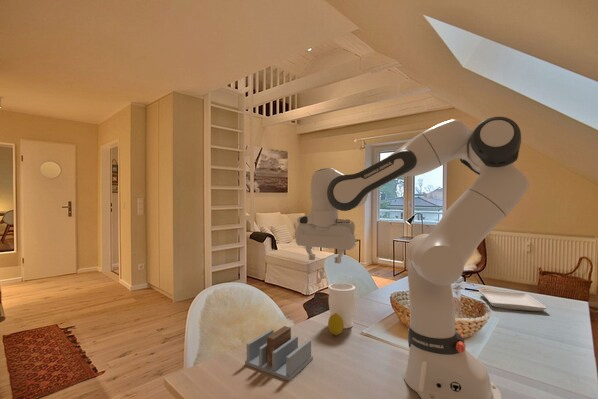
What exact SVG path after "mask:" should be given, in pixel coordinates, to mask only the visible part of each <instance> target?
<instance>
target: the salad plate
mask: <svg viewBox="0 0 598 399" xmlns="http://www.w3.org/2000/svg"><path fill="white" fill-rule="evenodd" d="M478 293H479V294H480V295H482V297H484V299H486V300H487V301H488V302H489V304H490V305H491V306H493V307H496V308H498V309H504V310H505V309H507V310H515V311H516V310H517V311H525V312H526V311H527V312H528V311H529V312H541V311H544V310H546V309H547V306H546V305H544V304H543V303H541V302H540V301H538V300H537V299H536V298H534V297H532V296H531V295H530V294H528V293H524V292H516V291H515V292H513V291H503V290H502V291H501V290H487V289H478Z"/></svg>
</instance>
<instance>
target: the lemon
mask: <svg viewBox="0 0 598 399" xmlns="http://www.w3.org/2000/svg"><path fill="white" fill-rule="evenodd" d="M327 326H328V330H329V332H330V333H331V334H332V335H334V336H338V335H340V334H341V333H342V331H343V330H344V329H343V326H344V324H343V320H342V317H341V316H340V315H338V314H337V313H335V314H333V315H330V316H329V318H328V321H327Z"/></svg>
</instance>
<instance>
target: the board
mask: <svg viewBox="0 0 598 399" xmlns="http://www.w3.org/2000/svg"><path fill="white" fill-rule="evenodd" d="M291 335H292V332H291V327H289V326H286V325H283V326H282V327H280V328H279V329H277V330H276V331H274V333H273V334H271V335H269V336H268V337H267V365H270V366H272V352H273V351H275V350H276V349H277V348H279V347H280V346H282V345H283V344H285V343H286V342H287V341H289V340H290V339H292V336H291Z"/></svg>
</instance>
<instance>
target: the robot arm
mask: <svg viewBox="0 0 598 399" xmlns="http://www.w3.org/2000/svg"><path fill="white" fill-rule="evenodd" d="M521 132H522V130H521V129H520V127H519V125H518V124H517V123H516V122H515V121H514V120H513V119H511V118H509V117H506V116H493V117H489V118H487V119H484V120H483V121H481V122H480V123H478V124H477V125H476V126H475V128H474V129H471V128H470V127H469V126H468V125H467V124H466V123H465V122H464V121H462V120H459V119H450V120H447V121H444V122H441V123H438V124H436V125H435V126H432V127H431V128H427V129H426V130H425V131H423V132H421V133H418V134H417V135H416V136H414V137H412V138H411V139H409V140H408V141H406V142H405V143H404V144H402V145H401V146H400V147H399V148H398V149H397V150H395V151H394V152H393V153H391V154H390V155H388V156H387V157H386V158H383V159H382V160H379V161H378V162H376V163H374V164H372V165H370V166H368V167H367V168H365V169H363V170H361V171H359V172H356V173H351V174H344V173H341V172H340V171H338V170H337V169H335V168H333V167H326V168H320V169H318V170H316V171H314V172H313V174H312V175H311V178H310V180H311V182H310V199H311V206H310V212H309V213H307V214H305V215H302V216H299V217H298V218H297V224H298V225H296V226H297V227H296V230H295V244H296V245H297V246H300V247H305V252H306V253H307V255H308V260H309V261H315V260H316V254H314V253H313V251H312V249H313V248H323V249H335V250H337V253H338V255H337V256H336V257H334V264H342V257H343V255H344V254H345V250H346V251H347V250H348V251H350V250H353V249H354V248H355V247H356V236H355V230H356V225H355V222H353V221H352V220H350V219H341V218H340V219H339V211H341V212H348V211H351V210H353V209H357V208H359V207H361V206H362V205H364V204H365V202H366V201H367V199H368V196H369V195H368V194H369V193H371V192H373V191H375V190H376V189H379V188H381V187H382V186H384V185H386V184H388V183H390V182H392V181H394V180H397V179H400V178H404V177H417V176H419V175H420V176H421V175H423V174H427V173H430V172H432V171H433V170H436V169H438V168H440V167H441V166H444V165H445V164H448V163H449V162H452V161H453V160H457V159H459V161H460V163H462V164H463V165H464V166H466V167H467V168H468V169H469V170H471V171H472V172H473V173H474V174H476V175H477V176H478V177H477V178H476V180H475V181H474V182H473V183H472V184H471V185H470V186H469V187H468V188H467V189H466V190H465V191H464V192H463V193H462V194H461V195H460V196H459V197H458V198H457V199H456V200H455V201H454V202H453V203H452V204H451V205H450V206H449V207H448V208H447V209H446V211H444V213H443V215H442V217H441V219H440V220H439V221H438V223H437V224H436V226H435V227H434V228H433V230H431V232H430V233H421V234H418V235H416V236H414V237H413V238H412V239H411V240H410V241H409V242H408V244H407V247H406V266H407V267H406V268H407V280H408V283H407V284H408V289H409V290H408V292H409V326H408V330H407V343H408V348H409V350H408V359H407V364H406V369H405V372H404V374H403V378H404V381H405V383H406V384H407V385H408V386H409V387H410V389H412V390H413V391H414V392H416V393H417V394H418V396H419V397H420V399H502V398H503V397H502V393H501V391H500V389H499V388H498V385H496V384H495V383H494V382H492V381H491V379H490V375H489V372H488V370H487V368H486V366H485V365H484V363H483V362H481V361H480V360H479V359H478V358H476V357H475V356H474V355H473V354H472V353H471V352H469V351H468V350H467V349H466V343H465V338H464V334H463V333H461V334H460V333H458V332H457V331H456V302H455V299H454V294H453V290H452V289H453V288H452V284H454V283H455V282H458V280H459V279H460V278H461V277H462V275H463V272H464V268H465V266H466V265H467V263H468V262H469V260H470V258H471V257H472V256H473V254H474V253H475V251H476V250H477V248H478V247H479V245H480V244H481V243H482V242H483V240H484V239H485V238H486V237H487V236H488V235H489V234H491V232H492V231H494V229H495V228H496V227H497V226H498V225H499V224H500V223H501V222H502V221H503V220H504V219H505V218H507V217H508V215H509V214H510V213H511V212H512V211H513V210H514V209H515V208H516V207H517V205H518V204H519V203H520V202H521V200H522V199H523V198H524V196H525V194H526V193H527V192H528V190H529V186H530V185H529V184H530V183H529V178H527V176H526V175H525V172H523V171H521V169H519V168H517V167H516V166H515V164H514V163H515V162H516V161H518V159H519V153H520V150H521V144H522V133H521Z"/></svg>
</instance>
